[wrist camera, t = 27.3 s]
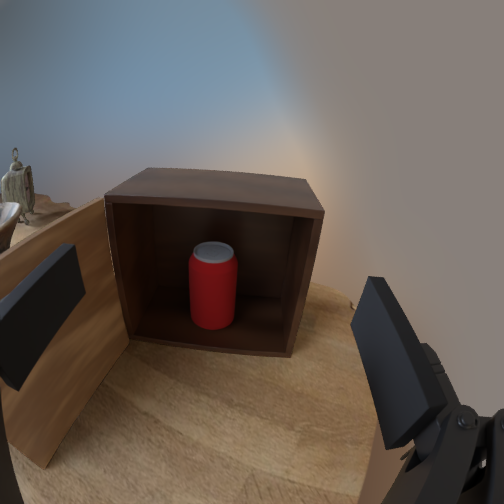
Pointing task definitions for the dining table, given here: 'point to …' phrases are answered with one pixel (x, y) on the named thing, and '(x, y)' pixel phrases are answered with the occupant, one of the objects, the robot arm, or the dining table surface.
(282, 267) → the cabinet
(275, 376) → the dining table surface
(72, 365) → the cabinet door
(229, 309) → the beverage can
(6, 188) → the grey bell
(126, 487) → the dining table surface
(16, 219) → the bowl
